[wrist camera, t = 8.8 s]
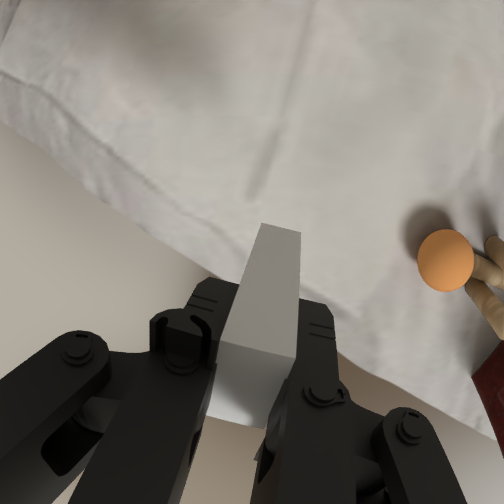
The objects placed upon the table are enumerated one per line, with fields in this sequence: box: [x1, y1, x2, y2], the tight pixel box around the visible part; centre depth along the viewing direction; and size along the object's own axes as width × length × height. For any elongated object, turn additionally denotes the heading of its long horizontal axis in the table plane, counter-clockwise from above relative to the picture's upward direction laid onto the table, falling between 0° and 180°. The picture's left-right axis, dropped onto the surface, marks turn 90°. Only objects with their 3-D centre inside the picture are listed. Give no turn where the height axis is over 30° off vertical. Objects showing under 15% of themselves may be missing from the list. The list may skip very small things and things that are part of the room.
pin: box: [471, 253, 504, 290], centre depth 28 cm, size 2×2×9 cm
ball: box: [417, 229, 474, 292], centre depth 26 cm, size 6×6×6 cm
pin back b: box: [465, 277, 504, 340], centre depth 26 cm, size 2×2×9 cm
